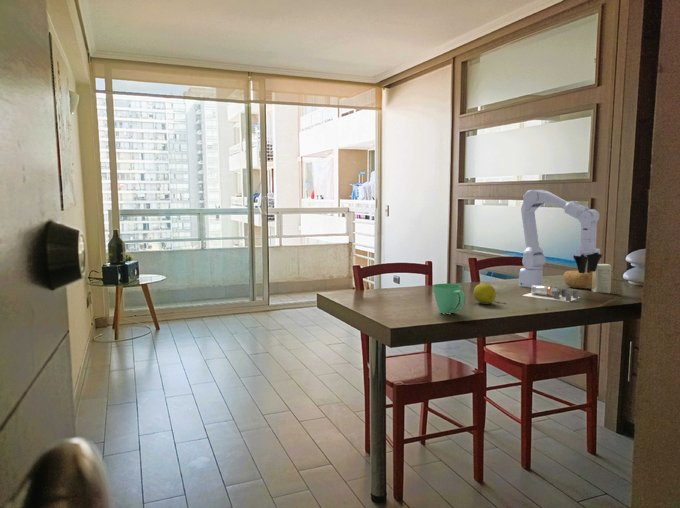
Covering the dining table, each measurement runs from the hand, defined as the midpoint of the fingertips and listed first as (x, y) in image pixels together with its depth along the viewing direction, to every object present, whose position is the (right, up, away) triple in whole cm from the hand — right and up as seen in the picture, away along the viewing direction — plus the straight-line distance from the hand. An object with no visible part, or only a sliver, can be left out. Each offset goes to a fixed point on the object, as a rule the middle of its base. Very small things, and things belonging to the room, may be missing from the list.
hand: (587, 272), depth 205 cm
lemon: (-45, -12, -9) cm, 47 cm away
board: (-16, -11, -2) cm, 19 cm away
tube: (-18, -10, -1) cm, 20 cm away
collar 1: (-13, -11, -5) cm, 18 cm away
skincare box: (+9, -9, +6) cm, 14 cm away
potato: (+4, -8, +18) cm, 20 cm away
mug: (-62, -14, -26) cm, 69 cm away
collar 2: (-10, -11, -9) cm, 17 cm away
